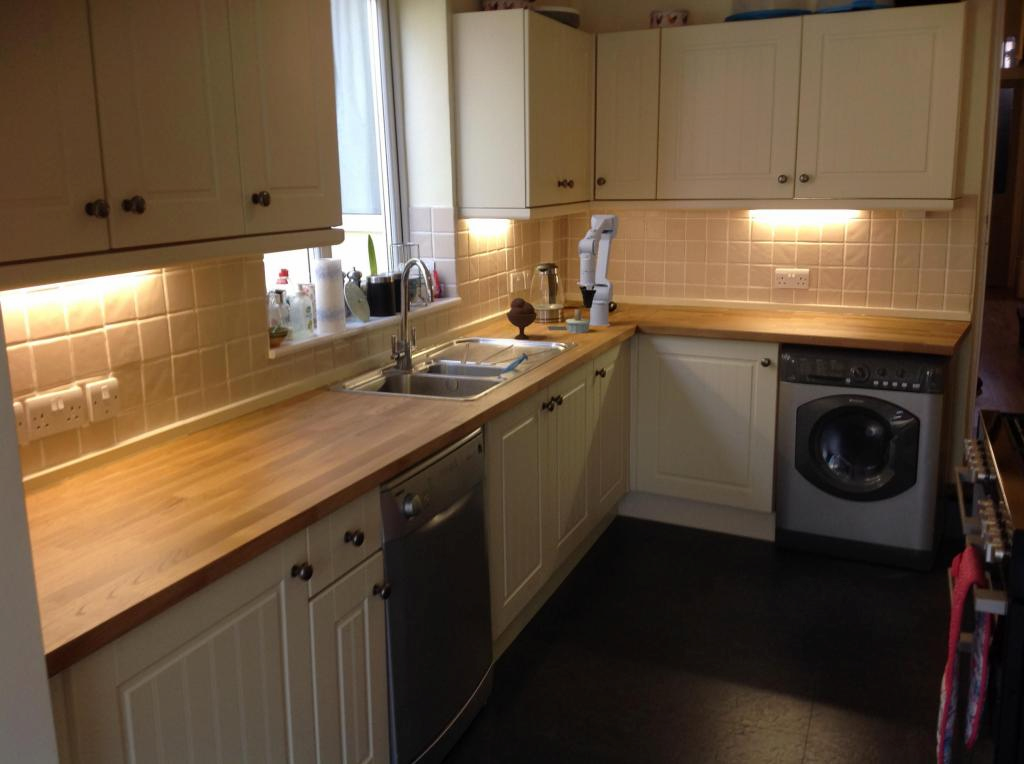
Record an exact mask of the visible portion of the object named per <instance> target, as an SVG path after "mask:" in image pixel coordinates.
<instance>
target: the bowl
mask: <svg viewBox="0 0 1024 764" xmlns="http://www.w3.org/2000/svg"><path fill="white" fill-rule="evenodd" d="M567 332H568V333H572V334H582V333H583V334H584V333H585V334H586V333H589V332H590V324H589V323H587V324H569V323H567Z"/></svg>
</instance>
